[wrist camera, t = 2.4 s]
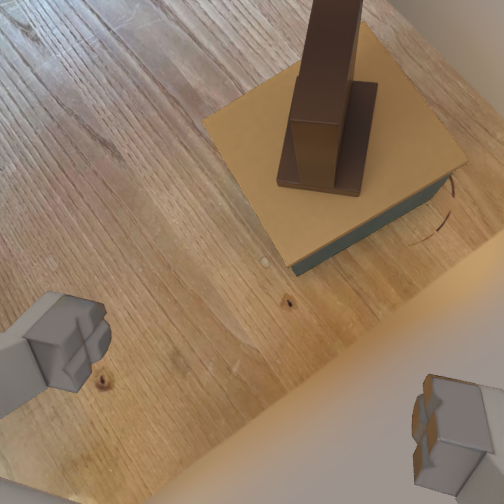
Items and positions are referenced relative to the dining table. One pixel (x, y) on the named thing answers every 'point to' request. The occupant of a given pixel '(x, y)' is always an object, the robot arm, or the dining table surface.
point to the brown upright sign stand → (329, 106)
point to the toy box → (375, 171)
